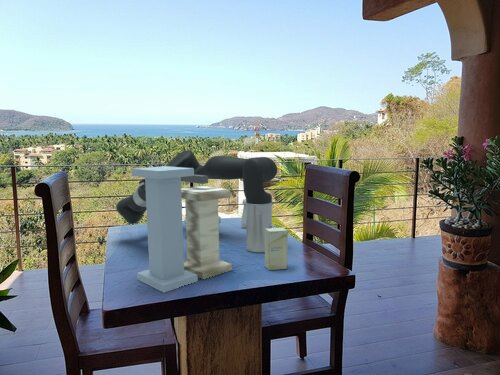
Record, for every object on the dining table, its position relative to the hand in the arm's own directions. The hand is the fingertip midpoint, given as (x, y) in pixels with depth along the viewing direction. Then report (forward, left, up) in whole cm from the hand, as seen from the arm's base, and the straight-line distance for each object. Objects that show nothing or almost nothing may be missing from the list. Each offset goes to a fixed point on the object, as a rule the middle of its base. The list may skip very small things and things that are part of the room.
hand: (168, 171), depth 128 cm
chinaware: (-7, -28, -30) cm, 41 cm away
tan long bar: (-5, +5, -3) cm, 7 cm away
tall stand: (-3, +22, -29) cm, 37 cm away
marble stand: (-12, +12, -29) cm, 34 cm away
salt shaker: (-25, -44, -30) cm, 59 cm away
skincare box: (-35, +11, -30) cm, 47 cm away
